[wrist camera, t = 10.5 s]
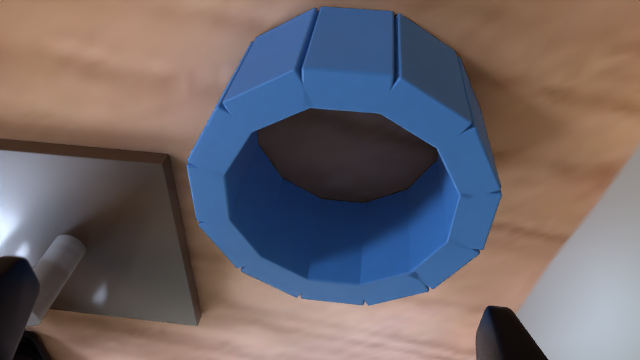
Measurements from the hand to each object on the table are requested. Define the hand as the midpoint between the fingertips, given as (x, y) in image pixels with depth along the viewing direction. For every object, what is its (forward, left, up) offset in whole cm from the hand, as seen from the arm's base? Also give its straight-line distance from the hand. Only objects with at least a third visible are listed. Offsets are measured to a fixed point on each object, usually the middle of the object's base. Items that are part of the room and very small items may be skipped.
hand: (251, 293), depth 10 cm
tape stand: (-11, +13, -11) cm, 20 cm away
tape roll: (-3, -1, -11) cm, 12 cm away
